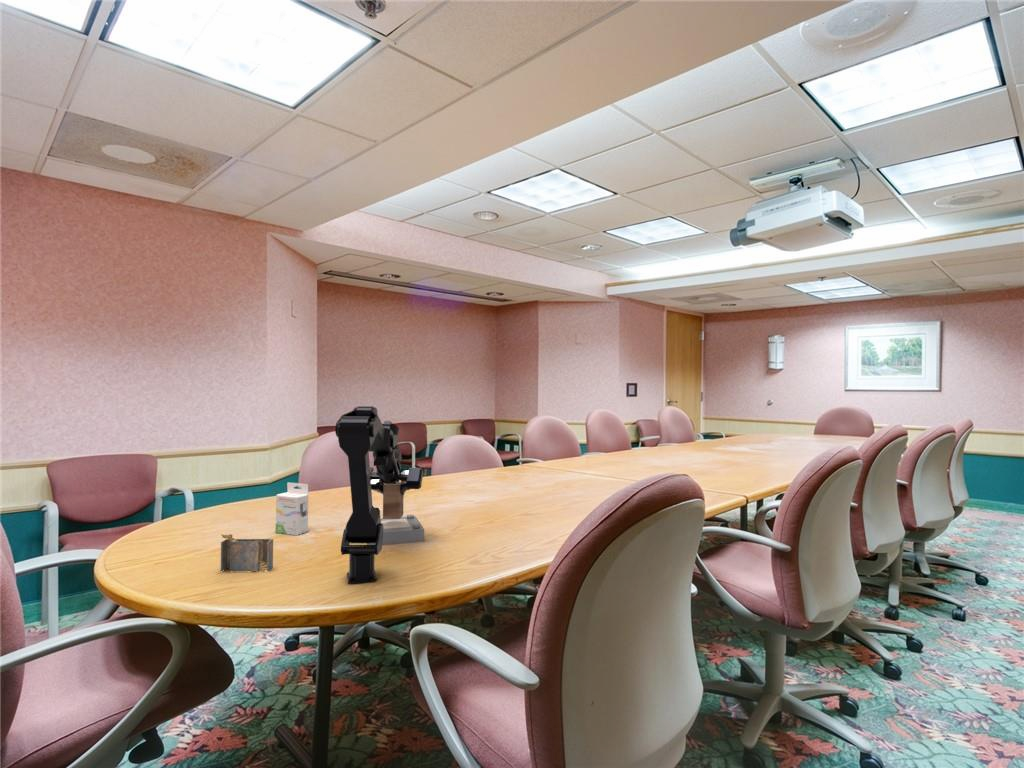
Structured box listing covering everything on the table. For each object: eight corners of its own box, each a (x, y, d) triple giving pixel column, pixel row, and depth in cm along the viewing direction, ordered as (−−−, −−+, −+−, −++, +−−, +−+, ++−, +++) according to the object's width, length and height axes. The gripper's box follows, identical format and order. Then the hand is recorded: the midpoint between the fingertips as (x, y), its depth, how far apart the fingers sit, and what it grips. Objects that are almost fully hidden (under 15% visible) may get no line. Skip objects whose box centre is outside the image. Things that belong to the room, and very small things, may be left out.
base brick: (424, 541, 153) (424, 526, 153) (367, 546, 148) (367, 530, 148) (415, 527, 168) (415, 513, 168) (363, 531, 163) (364, 517, 163)
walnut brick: (399, 518, 155) (400, 485, 156) (382, 518, 155) (383, 485, 156) (403, 514, 160) (403, 482, 161) (387, 514, 160) (387, 482, 161)
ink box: (274, 533, 160) (275, 484, 160) (286, 529, 164) (286, 481, 164) (297, 536, 157) (298, 486, 157) (308, 531, 162) (309, 483, 162)
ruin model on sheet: (219, 574, 126) (220, 534, 126) (225, 570, 129) (226, 530, 129) (267, 574, 126) (268, 534, 126) (272, 570, 129) (273, 530, 129)
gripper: (422, 441, 154) (428, 472, 165) (359, 440, 154) (369, 471, 165) (417, 472, 146) (423, 503, 157) (350, 471, 146) (361, 502, 157)
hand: (394, 494), depth 159 cm, fingers closed on walnut brick, 5 cm apart
